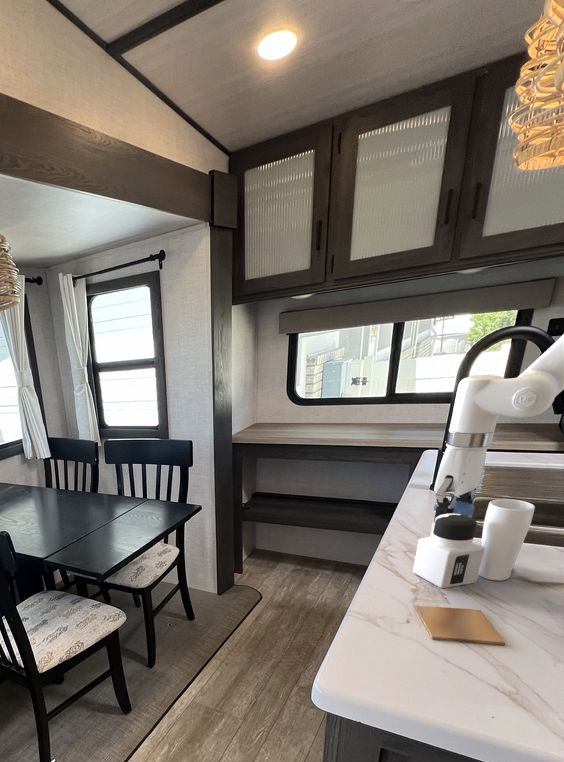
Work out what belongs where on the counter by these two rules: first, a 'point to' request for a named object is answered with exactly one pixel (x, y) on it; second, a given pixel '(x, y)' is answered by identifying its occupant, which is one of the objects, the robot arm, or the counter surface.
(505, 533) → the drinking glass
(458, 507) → the lid
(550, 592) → the counter surface
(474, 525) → the container
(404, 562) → the counter surface
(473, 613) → the cork coaster
